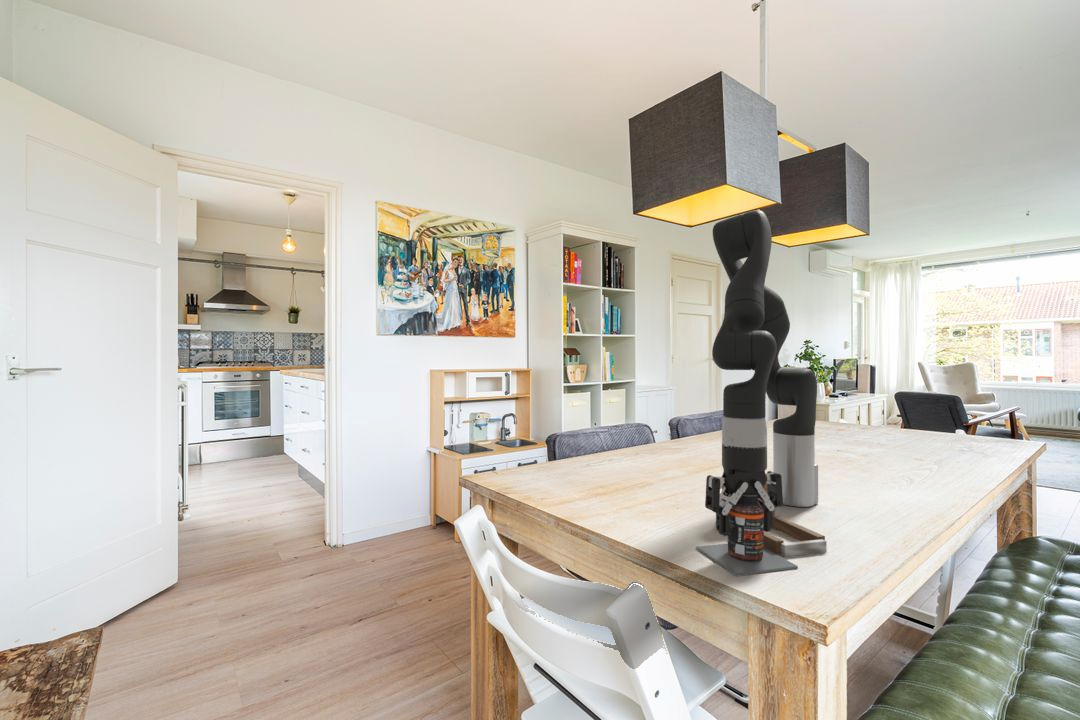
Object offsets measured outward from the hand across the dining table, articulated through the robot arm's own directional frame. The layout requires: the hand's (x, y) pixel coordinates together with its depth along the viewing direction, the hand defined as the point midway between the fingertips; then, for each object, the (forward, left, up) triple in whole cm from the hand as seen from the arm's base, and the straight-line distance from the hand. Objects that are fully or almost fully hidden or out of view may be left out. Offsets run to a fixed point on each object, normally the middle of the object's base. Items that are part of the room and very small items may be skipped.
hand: (744, 532), depth 88 cm
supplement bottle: (0, 0, -4) cm, 4 cm away
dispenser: (-12, -8, -5) cm, 15 cm away
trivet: (0, 0, -5) cm, 5 cm away
